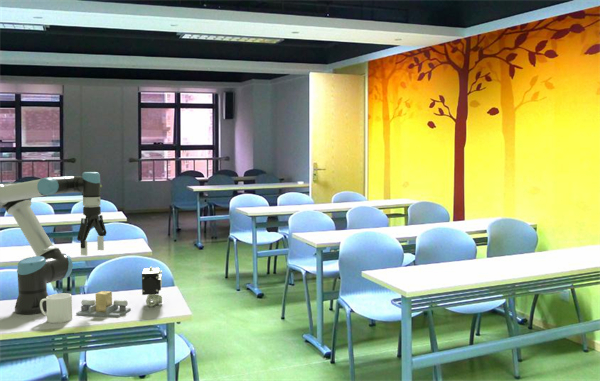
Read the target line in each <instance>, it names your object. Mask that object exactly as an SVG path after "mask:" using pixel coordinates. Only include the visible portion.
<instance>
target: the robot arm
mask: <svg viewBox="0 0 600 381" xmlns="http://www.w3.org/2000/svg"><path fill="white" fill-rule="evenodd" d="M81 175H82V176H80V175H64V176H52V177H51V176H49V177H48V176H46V177H42V178H40V179H33V180H30V181H24V182H23V181H22V182H18V181H14V182H6V183H5V182H4V183H0V209H5V211H6V212H7V215H9V216H10V215H11V216H12V217H13V218H14V220H15V221H16V223H17V225H18V227H19V228H20V231H21V232H22V233H23V235H24V237H25V239H26V240H27V242H28V244H29V246H30V247H31V249H32V251H33V252H34V254H35V256H32V257H30V256H29V257H26V258H23V259H21V260H20V261H19V262H18V263H17V270H16V272H17V273H16V274H17V287H18V288H17V289H18V290H17V293H18V295H17V298H16V299H17V300H16V303H15V305H14V313H15V314H18V315H33V314H34V315H35V314H41V313H42V312H41V309H40V301H41V300H42V299H46V297H47V296H49V294H48V290H47V287H48V286H47V284H49V283H53V282H56V281H61V280H63V279H67V278H68V277H69V276H70V275H71V274H72V270H73V265H74V264H73V260H72V258H71V256H70V255H69V254H66V253H62V251H61V250H60V248H59V247H56V246H54V244H53V243H52V241H51V240H50V238H49V236H48V234H47V233H46V231H45V229H44V227H43V226H42V224H41V223H40V220H39V219H38V217H37V216H36V213H35V212H34V211H33V209H32V207H31V205H32V199H34V198H40V197H44V196H45V197H47V196H52V195H60V194H70V193H82V206H83V207H82V214H83V215H84V216H85V218H84V217H82V218H81V219H80V220H81V221H80V226H79V230H78V234H77V238H76V240H77V241H78V242H79V241H80V256H88V240H87V238H88V235H89V234H90V231H91V229H92V228H94V229H95V231H96V233H97V235H98V236H97V240H96V241H97V251H104V248H105V247H104V246H105V244H104V241H105V240H104V238H105V236H107V229H106V225H105V223H104V220H103V214H101V213H102V211H101V210H102V209H101V202H102V201H101V174H100V173H99V172H97V171H84V172H82V174H81ZM42 307H43V310H44V312H45V313H46V312H47V305H46V301H43V303H42Z"/></svg>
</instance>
